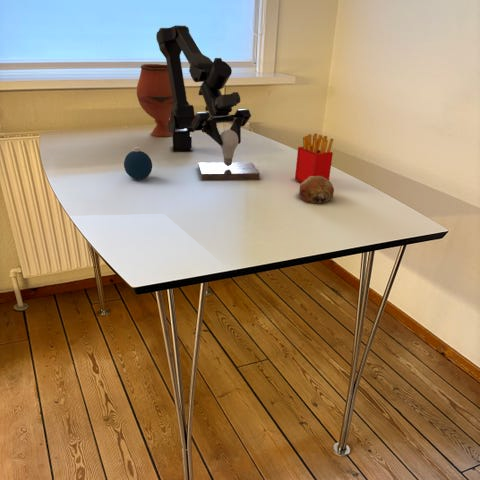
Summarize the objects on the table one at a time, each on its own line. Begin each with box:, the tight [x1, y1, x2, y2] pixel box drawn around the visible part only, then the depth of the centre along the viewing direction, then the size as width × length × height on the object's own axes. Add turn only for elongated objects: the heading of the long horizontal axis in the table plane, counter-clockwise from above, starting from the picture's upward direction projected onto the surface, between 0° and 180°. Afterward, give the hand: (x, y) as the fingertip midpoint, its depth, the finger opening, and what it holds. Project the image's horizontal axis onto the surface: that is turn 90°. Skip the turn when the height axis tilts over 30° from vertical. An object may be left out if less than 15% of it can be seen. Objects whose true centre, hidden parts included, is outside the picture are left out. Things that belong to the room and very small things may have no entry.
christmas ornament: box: [123, 146, 153, 181], centre depth 147 cm, size 8×8×10 cm
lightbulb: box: [219, 129, 239, 166], centre depth 154 cm, size 6×6×11 cm
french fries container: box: [294, 132, 334, 184], centre depth 150 cm, size 7×9×14 cm
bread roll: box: [298, 176, 335, 205], centre depth 140 cm, size 10×10×8 cm
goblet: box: [136, 63, 187, 137], centre depth 193 cm, size 19×19×25 cm
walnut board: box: [197, 162, 260, 181], centre depth 157 cm, size 18×12×2 cm, turn 99°
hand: (230, 144), depth 152 cm, fingers closed on lightbulb, 6 cm apart
